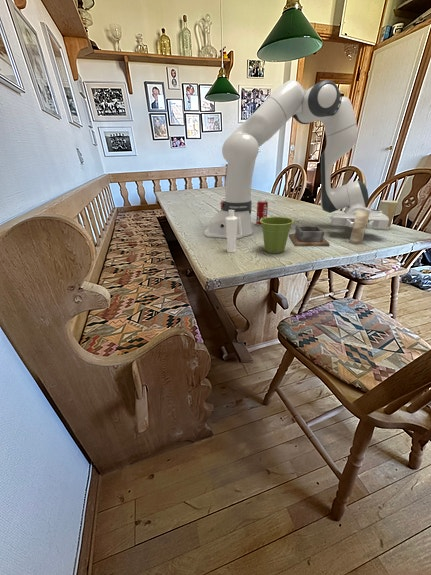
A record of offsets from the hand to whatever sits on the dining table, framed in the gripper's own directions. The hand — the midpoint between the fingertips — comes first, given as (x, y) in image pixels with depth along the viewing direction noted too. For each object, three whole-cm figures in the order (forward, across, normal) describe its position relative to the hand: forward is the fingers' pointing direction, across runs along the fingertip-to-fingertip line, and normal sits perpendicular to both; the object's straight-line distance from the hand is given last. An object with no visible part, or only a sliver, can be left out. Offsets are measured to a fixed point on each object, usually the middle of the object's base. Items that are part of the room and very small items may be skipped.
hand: (360, 225), depth 94 cm
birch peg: (-1, 0, +7) cm, 7 cm away
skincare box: (-26, +12, +7) cm, 29 cm away
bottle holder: (+2, -18, +7) cm, 19 cm away
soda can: (-17, -42, +7) cm, 46 cm away
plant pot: (+17, -29, +7) cm, 35 cm away
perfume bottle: (+23, -44, +7) cm, 50 cm away
